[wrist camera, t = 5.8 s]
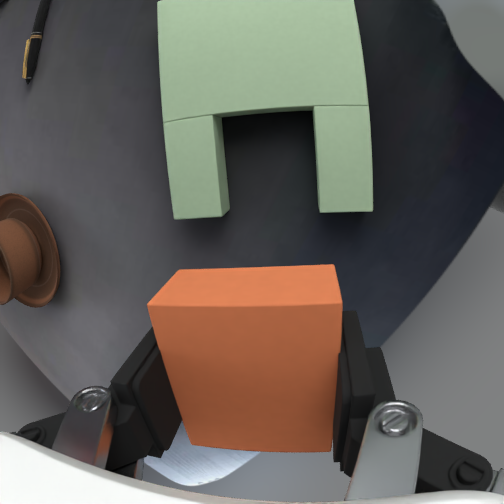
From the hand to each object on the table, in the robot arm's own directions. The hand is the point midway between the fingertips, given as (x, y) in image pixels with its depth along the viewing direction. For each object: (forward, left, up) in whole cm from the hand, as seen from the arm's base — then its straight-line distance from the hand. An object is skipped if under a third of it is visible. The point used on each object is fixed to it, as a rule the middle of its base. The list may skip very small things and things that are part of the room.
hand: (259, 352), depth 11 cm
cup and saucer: (+26, 0, -14) cm, 29 cm away
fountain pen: (+21, -23, -14) cm, 34 cm away
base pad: (+1, -10, -13) cm, 17 cm away
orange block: (0, 0, 0) cm, 0 cm away
